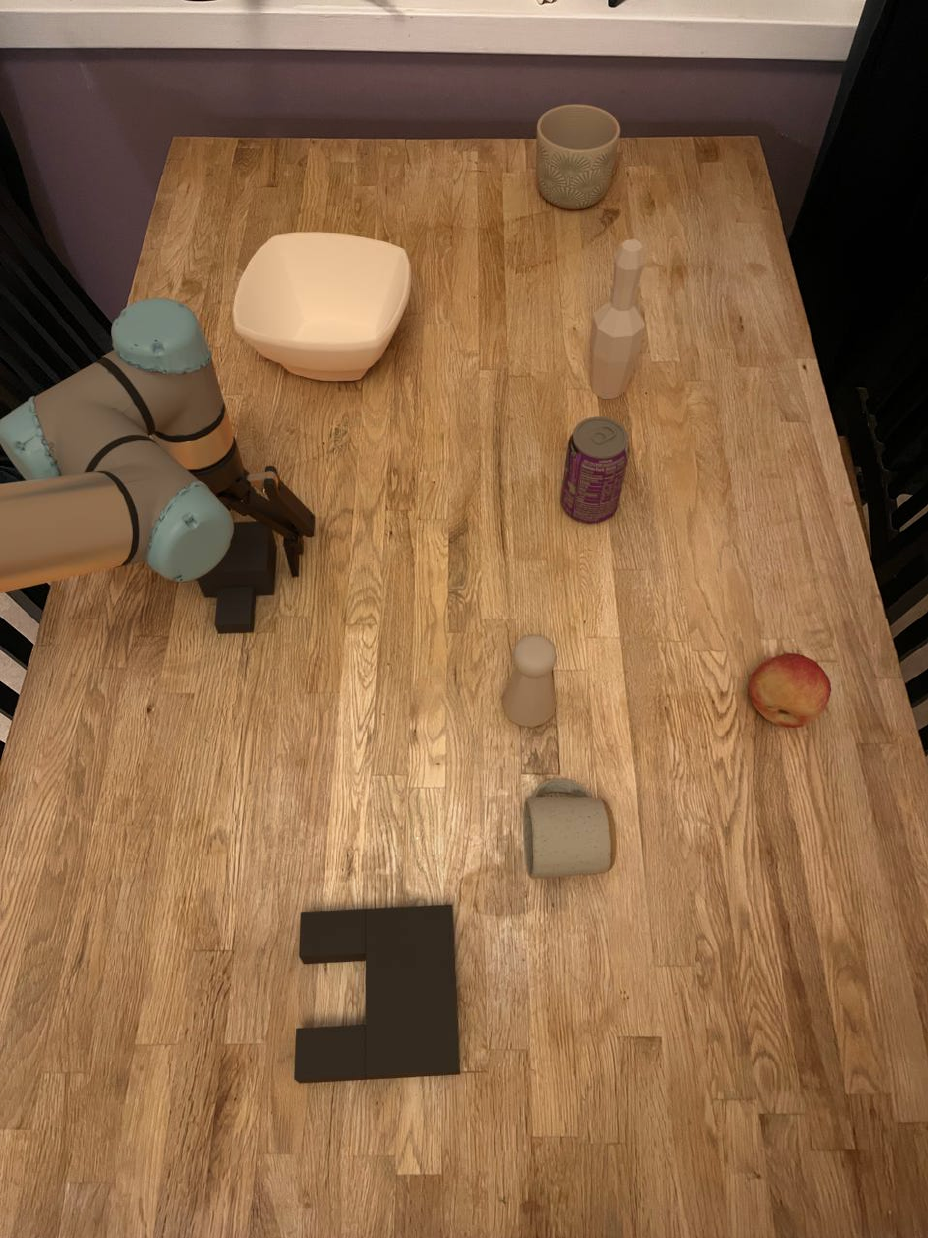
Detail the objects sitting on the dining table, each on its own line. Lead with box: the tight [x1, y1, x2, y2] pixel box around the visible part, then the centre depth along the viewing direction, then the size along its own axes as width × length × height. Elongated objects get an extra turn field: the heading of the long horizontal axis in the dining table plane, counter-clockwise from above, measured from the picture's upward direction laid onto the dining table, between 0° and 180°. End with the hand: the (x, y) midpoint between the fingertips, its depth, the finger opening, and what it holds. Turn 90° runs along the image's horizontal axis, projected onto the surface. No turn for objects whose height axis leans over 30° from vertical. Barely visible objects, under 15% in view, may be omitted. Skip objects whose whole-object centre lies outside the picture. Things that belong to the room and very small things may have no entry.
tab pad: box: [196, 520, 278, 635], centre depth 109 cm, size 12×8×5 cm, turn 3°
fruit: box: [748, 652, 832, 729], centre depth 99 cm, size 8×8×8 cm
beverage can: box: [559, 416, 630, 524], centre depth 113 cm, size 7×7×12 cm
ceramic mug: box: [522, 778, 617, 880], centre depth 92 cm, size 11×8×8 cm
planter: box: [535, 103, 621, 210], centre depth 147 cm, size 12×12×11 cm
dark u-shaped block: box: [293, 903, 461, 1085], centre depth 86 cm, size 14×14×3 cm
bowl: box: [231, 231, 413, 382], centre depth 127 cm, size 22×22×12 cm
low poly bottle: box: [588, 238, 646, 400], centre depth 119 cm, size 6×6×22 cm
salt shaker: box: [500, 633, 558, 729], centre depth 97 cm, size 6×6×13 cm
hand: (240, 570), depth 112 cm, fingers open, 12 cm apart
